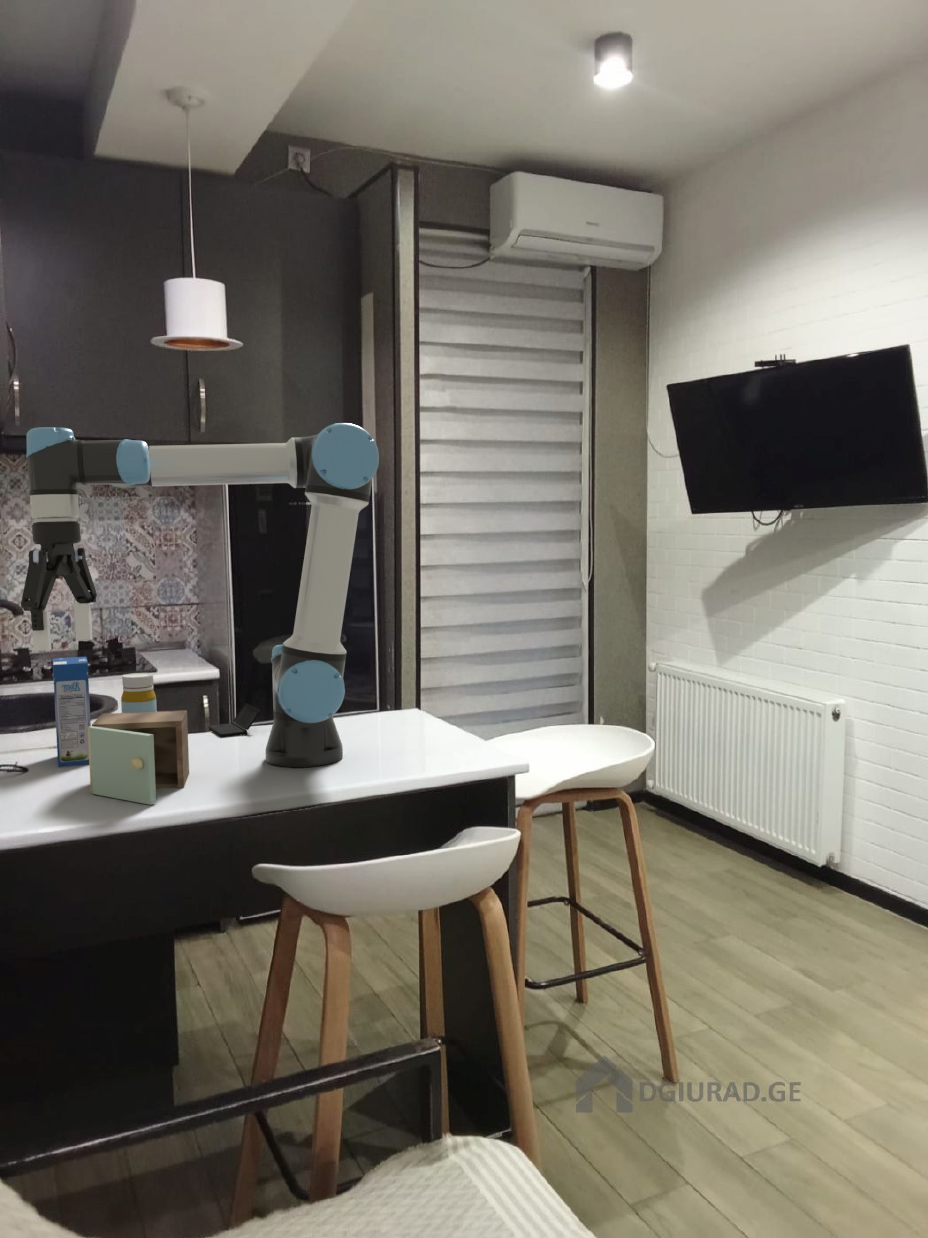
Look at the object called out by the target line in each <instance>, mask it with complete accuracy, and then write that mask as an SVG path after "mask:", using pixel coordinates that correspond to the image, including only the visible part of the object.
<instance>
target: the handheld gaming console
mask: <svg viewBox="0 0 928 1238" xmlns="http://www.w3.org/2000/svg"><path fill="white" fill-rule="evenodd" d="M260 713H261V709H259V708H257V707H255V706H253V705H252V704H249V703H248V702H245V703H244V704H243V706H242V707H241V708H240V710H239V711H238V713H237V714H236V716H235V717H234V718H233V721H231V722H230V723H223V724H222V723H220V724H214V725H213V724H212V725H208V726H207V727H208V728H207V729H208V730H209V731H210V732H212V733H213V734H215V736H217V737H219V738H231V737H239V736H248V731H249V729H250V728H251V727H252V725H253V723H254V722H255V721H256V718H257V717H258V716H259V715H260Z"/></svg>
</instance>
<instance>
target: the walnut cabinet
mask: <svg viewBox="0 0 928 1238" xmlns="http://www.w3.org/2000/svg"><path fill="white" fill-rule="evenodd" d="M91 726H94V727H103V728H110V729H117V730H125V731H132V732H139V733H146V734H153V736H154V761H155V786H156V789H163V788H164V789H165V788H167V789H168V788H178V789H179V788H180V789H181V788H182V789H183V788H185V785H186V783H187V780H188V778H189V775H190V759H189V756H190V755H189V752H190V751H189V731H188V728H189V727H188V710H187V709H186V710H165V711H164V710H161V711H158V710H157V712H134V713H122V712H115V713H114V712H113V713H101V715H99V716H98V717H97V719H95V721H94V722H92V724H91Z"/></svg>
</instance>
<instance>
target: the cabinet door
mask: <svg viewBox="0 0 928 1238" xmlns="http://www.w3.org/2000/svg"><path fill="white" fill-rule="evenodd" d="M88 744H89V764H88V765H89V782H90V783H89V785H90V794H93V795H97V796H102V797H108V798H113V799H118V800H124V801H129V802H133V803H139V804H144V805H148V806H150V805H153V804H156V803H157V790H156V789H157V788H156V786H155V761H154V736H153V734H146V733H139V732H132V731H125V730H117V729H110V728H103V727H94V726H92V725H91V726H89V727H88Z"/></svg>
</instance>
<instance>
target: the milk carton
mask: <svg viewBox="0 0 928 1238" xmlns="http://www.w3.org/2000/svg"><path fill="white" fill-rule="evenodd" d="M88 663H89V662H88V658H87V656H76V657H59V658H58V657H57V658H53V659H52V671H53V677H52V678H53V692H54V693H53V695H54V712H55V734H56V750H57V751H56V753H57V767H58V768H62V767H63V768H65V767H72V766H83V765H84V766H85V765H89V744H88V727H89V726H92V724H91V708H90V707H91V706H90V705H91V703H90V686H89V684H90V683H89V665H88Z"/></svg>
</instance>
